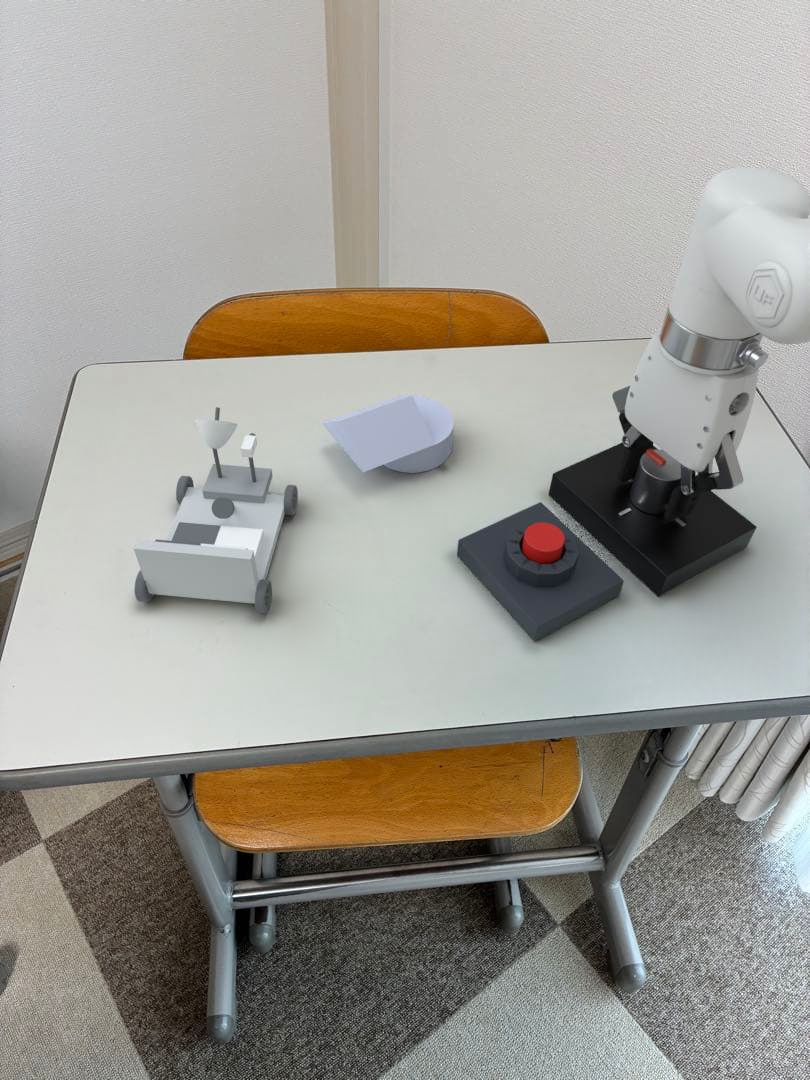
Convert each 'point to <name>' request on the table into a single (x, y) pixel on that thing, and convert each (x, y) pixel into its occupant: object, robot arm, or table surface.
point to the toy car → (218, 531)
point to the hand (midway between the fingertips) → (653, 493)
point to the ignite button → (543, 543)
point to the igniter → (538, 573)
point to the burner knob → (655, 481)
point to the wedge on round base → (396, 434)
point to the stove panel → (648, 524)
